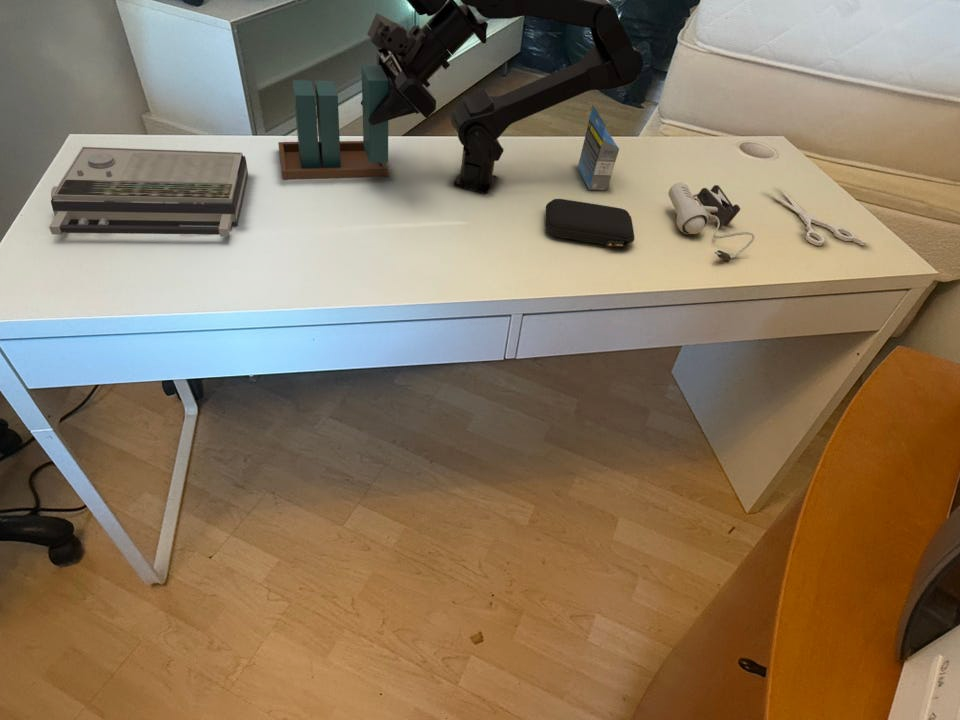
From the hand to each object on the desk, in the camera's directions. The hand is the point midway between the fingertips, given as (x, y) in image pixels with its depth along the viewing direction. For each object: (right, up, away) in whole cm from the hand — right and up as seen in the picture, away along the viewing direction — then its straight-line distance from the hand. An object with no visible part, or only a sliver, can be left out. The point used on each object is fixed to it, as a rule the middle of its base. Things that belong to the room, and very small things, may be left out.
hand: (366, 114), depth 96 cm
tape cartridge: (+39, -4, +20) cm, 44 cm away
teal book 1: (-12, -4, +11) cm, 16 cm away
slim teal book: (+1, -5, +5) cm, 7 cm away
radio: (-31, -15, -3) cm, 35 cm away
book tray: (-8, -4, +12) cm, 15 cm away
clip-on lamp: (+57, -17, +11) cm, 61 cm away
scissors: (+79, -12, +19) cm, 82 cm away
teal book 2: (-9, -4, +12) cm, 15 cm away
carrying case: (+36, -17, +7) cm, 40 cm away
